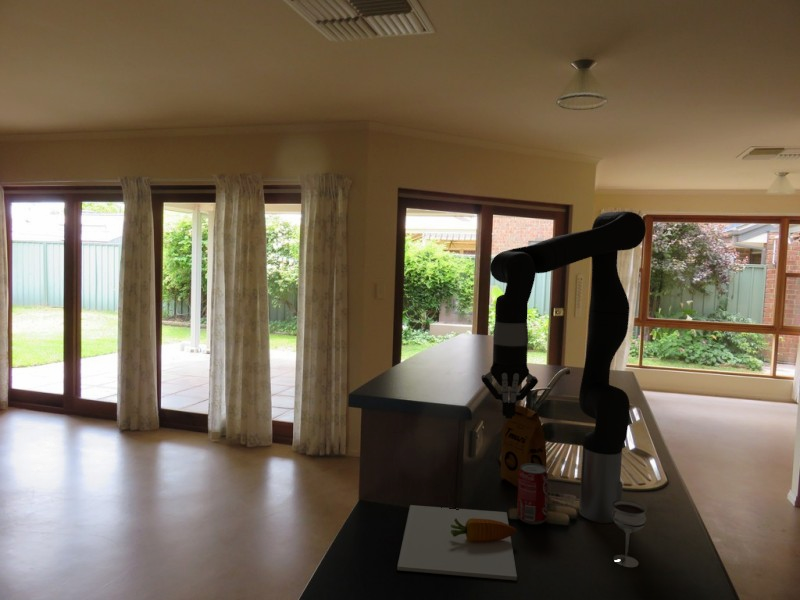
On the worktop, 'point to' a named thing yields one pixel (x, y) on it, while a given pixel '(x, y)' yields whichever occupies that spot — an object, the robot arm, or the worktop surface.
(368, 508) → the worktop surface
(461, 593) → the worktop surface
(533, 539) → the worktop surface
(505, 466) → the coffee package
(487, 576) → the rubber mat
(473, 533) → the carrot
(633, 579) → the worktop surface
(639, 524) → the wineglass
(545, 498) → the soda can
